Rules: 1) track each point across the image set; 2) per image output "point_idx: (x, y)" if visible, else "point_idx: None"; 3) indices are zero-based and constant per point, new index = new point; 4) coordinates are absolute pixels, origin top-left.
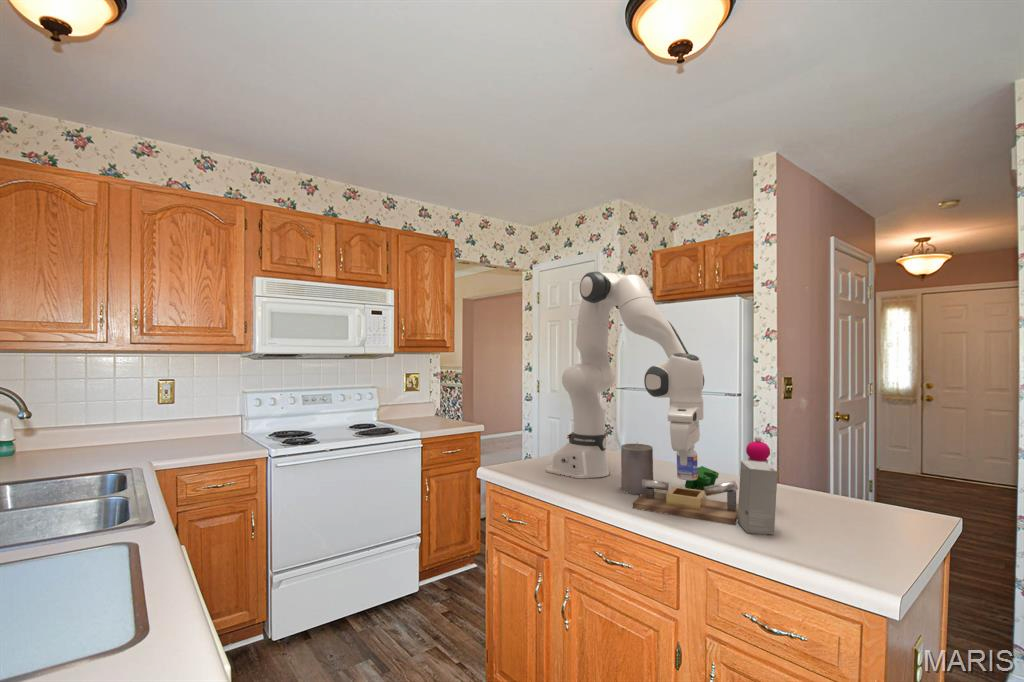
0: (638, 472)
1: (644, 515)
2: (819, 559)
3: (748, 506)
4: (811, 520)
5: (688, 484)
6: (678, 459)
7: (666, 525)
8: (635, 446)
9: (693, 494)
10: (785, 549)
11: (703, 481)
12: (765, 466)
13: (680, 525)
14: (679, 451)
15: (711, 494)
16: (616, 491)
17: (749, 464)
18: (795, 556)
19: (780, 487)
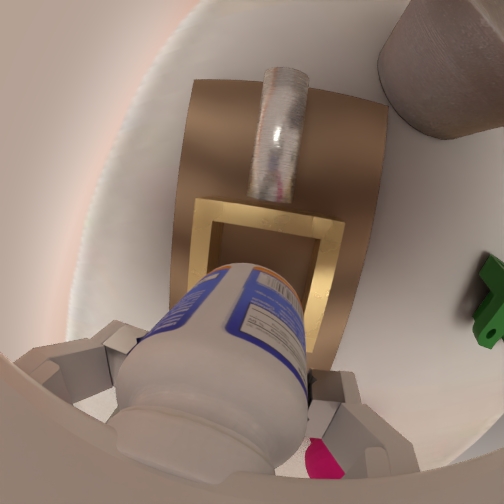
0: (410, 49)
1: (144, 137)
2: (103, 421)
3: (111, 415)
4: (279, 471)
5: (489, 269)
6: (157, 323)
7: (96, 211)
8: None
9: (304, 301)
10: (107, 402)
11: (475, 327)
12: None
13: (110, 246)
14: (28, 359)
15: None
16: (380, 21)
17: None
18: (93, 402)
19: (480, 430)
